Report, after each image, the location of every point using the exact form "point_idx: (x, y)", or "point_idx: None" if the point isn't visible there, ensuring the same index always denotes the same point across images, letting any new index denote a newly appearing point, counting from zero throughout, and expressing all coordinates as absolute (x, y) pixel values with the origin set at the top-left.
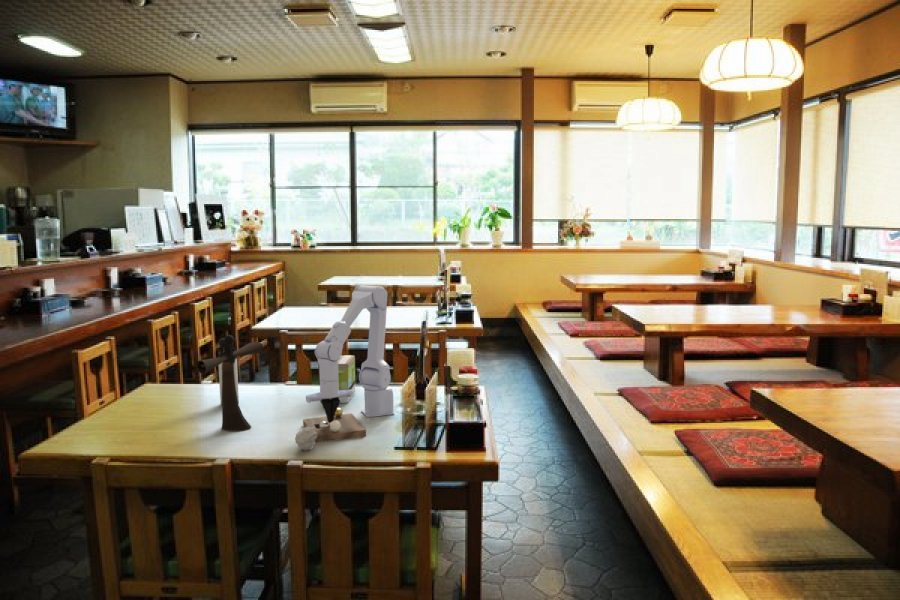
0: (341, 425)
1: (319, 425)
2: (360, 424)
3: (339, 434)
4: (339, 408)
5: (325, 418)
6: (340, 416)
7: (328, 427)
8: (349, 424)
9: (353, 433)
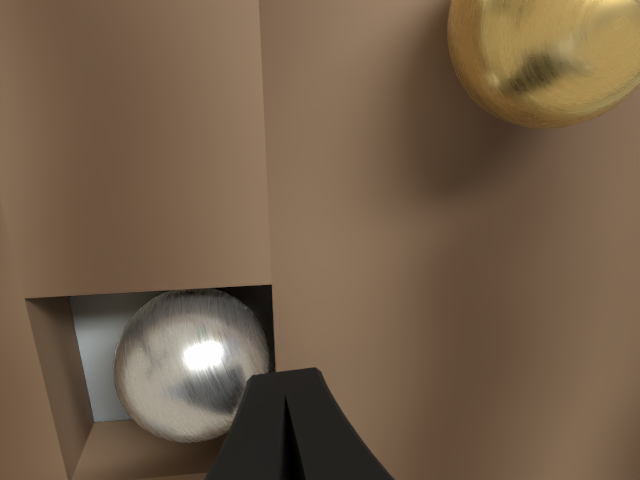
0: (418, 447)
1: (115, 384)
2: (638, 470)
3: None
4: (635, 63)
5: (262, 30)
6: None
7: None
8: (523, 440)
9: None
